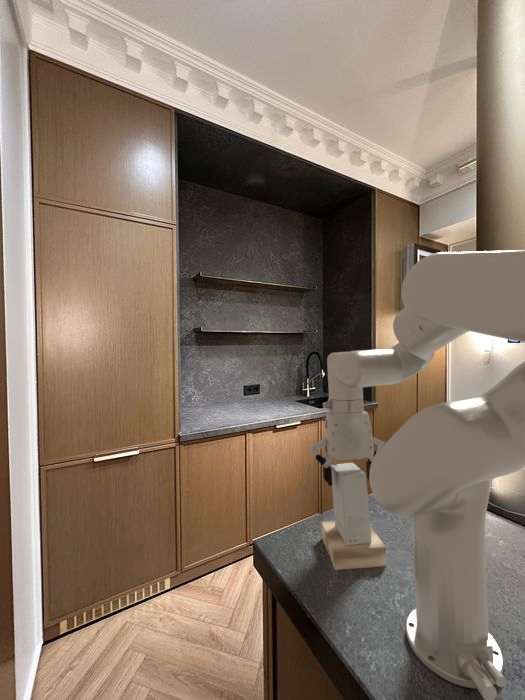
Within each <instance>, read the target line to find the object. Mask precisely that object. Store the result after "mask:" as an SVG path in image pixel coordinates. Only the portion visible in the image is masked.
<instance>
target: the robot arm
mask: <svg viewBox="0 0 525 700" xmlns="http://www.w3.org/2000/svg"><path fill="white" fill-rule="evenodd" d="M400 292H401V295H400V296H401V300H402V303H403V306H404V308H402V310H400V311H399V312H397V314H396V315H395V317H394V319H393V323H392V329H393V333H394V336H395V339H396V340H397V342H398V343H396V344H395V345H393V346H392V347H390V348H379V349H363V350H362V349H361V350H359V349H357V350H350V351H340V352H331V353H330V354H329V355H328V356H327V358H326V364H327V382H328V399H327V401H326V402H322V407H323V409H327V410H329V411H327V412H326V416H325V424H324V438H322V439H320V440H319V441H317V442H316V443H313V444H312V445H310V447H309V449H310V452H311V453H312V454H313V456H314V458H315V459H316V461H317V462H319V463H320V465H321V466H322V476H323V480H324V482H326V484H327V485H328V487H332V469H331V465H332V463H333V461H349V460H365V459H367V460H366V462H365V468H366V469H365V470H366V471H365V473H366V479H367V480H369V485H370V489H371V491H372V494H373V496H374V498H375V499H376V500H377V502H378V504H379V505H380V506H381V507H383V509H385V510H386V511H388V513H391V514H392V515H395V516H397V517H400V518H405V519H412V518H413V520H412V544H413V549H412V550H413V566H414V567H413V568H414V569H413V570H414V571H413V573H414V591H415V592H414V593H415V609H413V610H411V612H410V613H409V614H408V615H407V618H406V622H405V629H406V632H405V633H406V637H407V640H408V643H409V645H410V647H411V649H412V651H413V652H414V654H415V655H416V657H417V658H418V659H419V660H420V661H421V662H422V664H423V665H425V666H426V667H427V668H428V669H429V670H431V672H433V673H434V674H436V675H437V676H438V677H441V678H442V679H444V680H446V681H447V682H449V683H453V684H454V685H457V686H461V687H464V688H468V689H477V691H478V692H479V694H480V696H482V699H483V700H496V698H497V696H498V691H497V689H496V687H495V685H496V686H497V687H498V688H503V687H505V686H506V685H507V679H506V678H505V676H504V674H503V673H504V657H503V654H502V652H501V649H500V647H499V645H498V643H497V642H496V640H495V639H494V638H493V636H492V635H491V634H490V633H489V632H490V631H489V629H490V628H489V607H488V606H489V605H488V586H487V585H488V583H487V581H488V580H487V558H486V555H487V554H486V552H487V551H486V550H487V549H486V517H487V510H488V504H489V500H490V494H491V483H492V482H491V480H494V479H497V478H501V477H504V476H506V475H507V476H508V475H510V474H513V473H516V472H518V471H520V470H522V469H524V468H525V360H524V361H522V362H521V363H520V364H518V365H517V366H516V367H514V368H513V369H511V371H509V373H508V374H507V375H506V376H505V377H504V378H503V379H501V380H499V382H497V383H496V384H495V385H493V387H491V388H490V389H488V390H487V391H485V392H484V393H482V394H480V395H478V396H475V397H473V398H467V399H463V400H454V401H453V400H452V401H447V402H440V403H436V404H434V405H430V406H427V407H425V408H423V409H421V410H420V411H418V412H416V413H414V414H413V415H412V416H411V417H410V418H408V420H407V421H405V422H404V423H403V425H401V426H400V428H399V429H397V431H395V433H394V434H392V436H391V437H390V438H388V440H387V441H382V440H381V439H378V438H377V437H375V436H373V429H372V425H371V420H370V417H369V413H368V412H367V411H365V409H364V407H365V406H364V389H363V388H369V387H379V386H389V385H396V384H399V383H401V382H404V381H406V380H407V379H409V378H411V377H413V376H415V375H416V374H420V372H422V371H424V370H425V369H426V368H427V367H429V365H430V363H431V362H432V361H433V359H434V356H435V353H436V352H437V351H439V350H441V349H442V348H444V347H445V346H447V345H448V344H450V343H451V342H453V341H454V340H456V339H458V338H459V337H461V336H463V335H465V334H466V333H468V332H473V333H477V334H483V335H486V336H491V337H496V338H501V339H505V340H513V341H517V342H518V341H521V342H525V249H515V250H514V249H513V250H489V251H487V250H484V251H461V252H460V251H459V252H458V251H457V252H456V251H453V252H451V251H448V252H447V251H445V252H444V251H440V252H435V253H432V254H429V255H427V256H425V257H423V258H422V259H420V260H418V261H417V262H416V263H415V264H414V265H413V266H412V267H411V268H410V269H409V270H408V271H407V273H406V275H405V277H404V279H403V281H402V285H401V291H400ZM374 445H376V446H377V448H376V450H375V446H374ZM322 448H324V451H325V454H324V456H322V455H321V454H320V452H319V451H320V450H321V449H322Z"/></svg>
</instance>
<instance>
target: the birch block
mask: <svg viewBox="0 0 525 700" xmlns="http://www.w3.org/2000/svg"><path fill="white" fill-rule="evenodd" d="M370 529H371V543H370V544H355V545H346V543H345V542H344V540H343V539H342V537H341V535H340V534H339V532H338V530H337V529H336V527H335V520H329V521H321V539H322V541H323V544H324V547H325V548H326V552H327V554H328V557H329V558H330V561H331V564H332V567H333V569H334V571H339V570H351V569H352V570H353V569H366V568H368V569H369V568H377V567H379V568H380V567H386V566H387V548H386V546H385V544H384V543H383V541H382V540H381V538H380V537H379V535H378V534H377V532H376V531H375V530H374V528H373V527H372V525H370Z"/></svg>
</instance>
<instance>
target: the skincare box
mask: <svg viewBox="0 0 525 700" xmlns="http://www.w3.org/2000/svg"><path fill="white" fill-rule="evenodd" d="M330 467H331V469H332V486H331V487H332V488H331V489H332V500H333V501H332V503H333V504H332V505H333V515H334V516H333V517H334V521H335V527H336V529H337V530H338V532H339V534H340V535H341V537H342V539H343V540H344V542H345V543H346V545H355V544H370V543H371V529H370V526H371V521H370V519H371V518H370V507H369V505H370V504H369V496H368V495H369V494H368V493H369V492H368V484H367V480H368V478H367V472H364V471H363V470H362V468H361V469H360V467H359V466H357V465H356V464H355V463H354V462H344V463H338V464H337V463H336V464H330Z"/></svg>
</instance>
